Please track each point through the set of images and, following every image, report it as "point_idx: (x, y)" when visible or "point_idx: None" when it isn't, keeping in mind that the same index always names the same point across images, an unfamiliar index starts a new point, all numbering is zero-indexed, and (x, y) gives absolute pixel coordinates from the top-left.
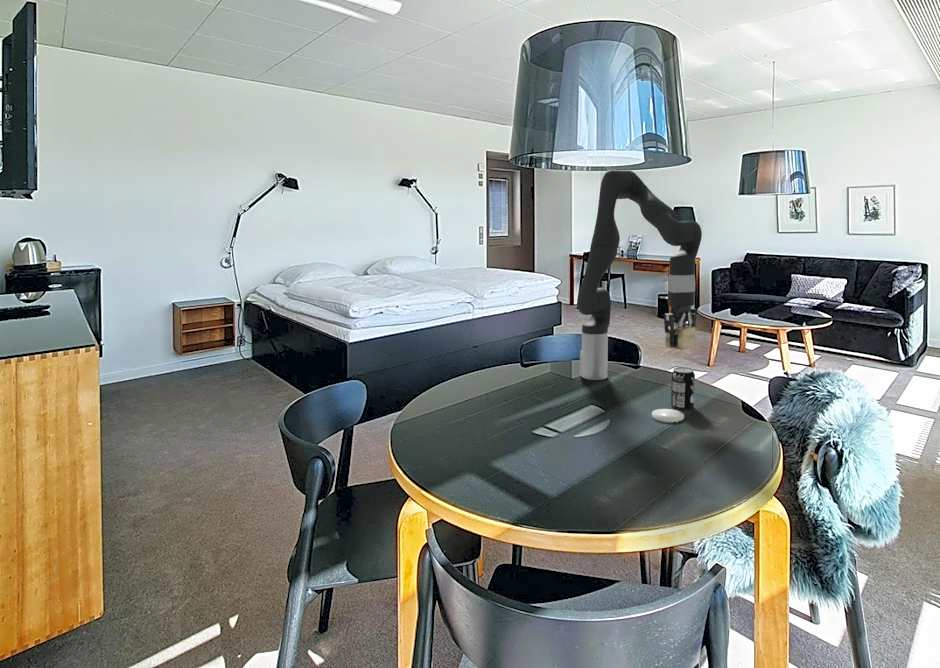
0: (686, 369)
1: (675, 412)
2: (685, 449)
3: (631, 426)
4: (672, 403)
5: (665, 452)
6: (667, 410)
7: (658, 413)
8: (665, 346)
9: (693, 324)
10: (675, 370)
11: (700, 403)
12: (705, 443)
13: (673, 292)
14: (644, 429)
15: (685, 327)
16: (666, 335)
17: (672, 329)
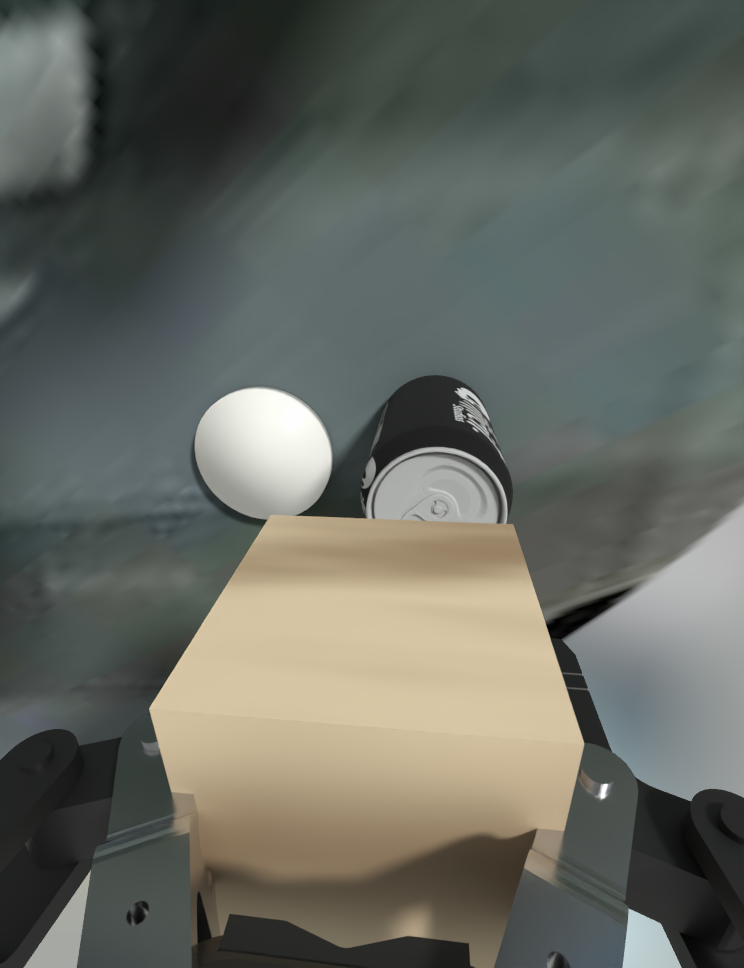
0: (482, 508)
1: (303, 471)
2: (92, 628)
3: (67, 409)
4: (385, 406)
5: (26, 602)
6: (298, 432)
7: (234, 427)
8: (267, 522)
9: (683, 964)
10: (396, 473)
11: (540, 458)
12: (175, 646)
13: None
14: (91, 462)
15: (421, 903)
16: (213, 622)
17: (20, 893)
